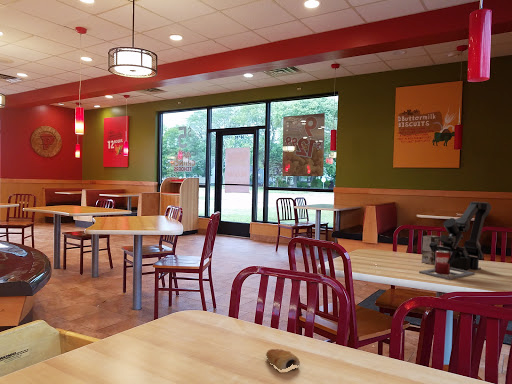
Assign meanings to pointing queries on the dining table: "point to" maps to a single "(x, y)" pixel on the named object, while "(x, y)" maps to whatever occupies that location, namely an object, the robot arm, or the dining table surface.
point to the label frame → (454, 274)
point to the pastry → (282, 358)
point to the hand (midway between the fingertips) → (441, 262)
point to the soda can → (442, 262)
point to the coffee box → (426, 250)
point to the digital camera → (461, 264)
